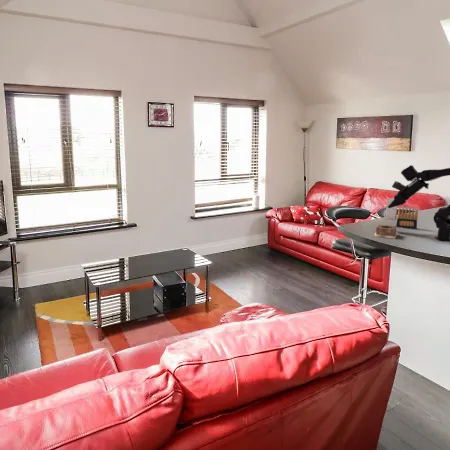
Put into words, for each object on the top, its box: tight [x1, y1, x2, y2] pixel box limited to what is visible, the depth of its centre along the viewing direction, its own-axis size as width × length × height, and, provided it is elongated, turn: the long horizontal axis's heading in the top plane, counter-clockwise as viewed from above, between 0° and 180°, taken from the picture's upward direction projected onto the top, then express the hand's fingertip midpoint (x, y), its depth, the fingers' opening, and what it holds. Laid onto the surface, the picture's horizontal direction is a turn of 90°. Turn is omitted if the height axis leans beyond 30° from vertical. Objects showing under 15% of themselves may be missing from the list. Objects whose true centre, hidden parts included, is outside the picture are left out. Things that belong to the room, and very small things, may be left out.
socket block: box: [373, 224, 398, 239], centre depth 223 cm, size 10×10×4 cm
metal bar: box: [384, 197, 398, 221], centre depth 231 cm, size 5×5×11 cm
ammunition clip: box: [396, 205, 419, 230], centre depth 241 cm, size 11×2×12 cm, turn 62°
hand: (389, 206), depth 231 cm, fingers closed on metal bar, 5 cm apart
